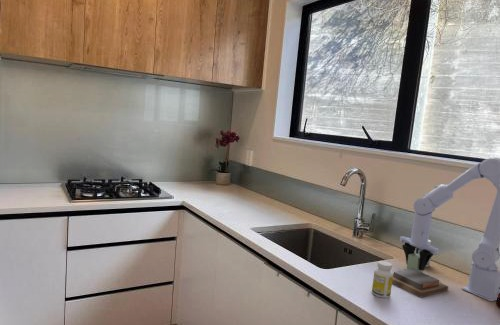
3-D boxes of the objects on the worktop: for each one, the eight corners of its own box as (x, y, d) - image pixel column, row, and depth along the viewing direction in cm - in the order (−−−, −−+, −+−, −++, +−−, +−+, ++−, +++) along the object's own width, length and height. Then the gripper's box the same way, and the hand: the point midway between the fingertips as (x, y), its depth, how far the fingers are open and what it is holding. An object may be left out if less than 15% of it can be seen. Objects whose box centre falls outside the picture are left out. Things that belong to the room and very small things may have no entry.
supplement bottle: (386, 291, 119) (390, 260, 117) (393, 299, 113) (397, 267, 112) (368, 289, 118) (373, 259, 117) (375, 297, 113) (379, 266, 112)
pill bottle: (416, 260, 151) (420, 236, 150) (430, 264, 147) (434, 240, 146) (412, 263, 147) (416, 239, 146) (427, 268, 143) (431, 243, 142)
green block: (422, 272, 138) (425, 256, 137) (415, 274, 136) (418, 258, 135) (413, 268, 141) (415, 253, 141) (406, 270, 139) (408, 254, 138)
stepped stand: (447, 290, 124) (448, 281, 123) (420, 297, 116) (422, 287, 116) (410, 273, 136) (411, 265, 135) (383, 278, 128) (384, 270, 128)
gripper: (396, 225, 141) (391, 260, 142) (432, 237, 129) (426, 276, 130) (408, 224, 145) (403, 259, 146) (444, 236, 132) (438, 273, 134)
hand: (415, 267), depth 138 cm, fingers open, 5 cm apart
